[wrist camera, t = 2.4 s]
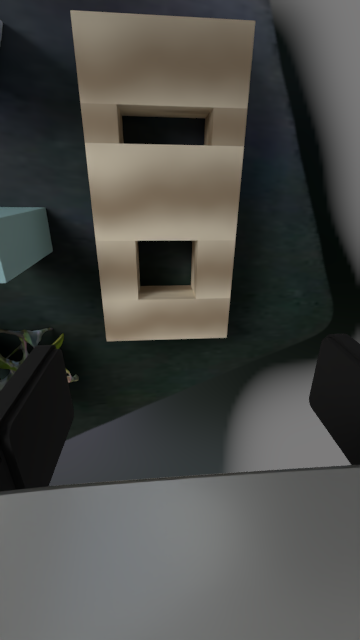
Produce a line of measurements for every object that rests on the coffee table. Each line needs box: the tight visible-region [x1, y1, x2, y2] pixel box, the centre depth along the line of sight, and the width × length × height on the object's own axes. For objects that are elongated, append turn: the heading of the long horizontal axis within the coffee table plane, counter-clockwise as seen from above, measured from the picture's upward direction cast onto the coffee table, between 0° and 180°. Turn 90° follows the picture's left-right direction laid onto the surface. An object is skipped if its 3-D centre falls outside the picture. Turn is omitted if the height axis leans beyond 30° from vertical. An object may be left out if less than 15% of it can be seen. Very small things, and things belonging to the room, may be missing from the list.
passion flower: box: [0, 328, 79, 391], centre depth 29 cm, size 11×11×12 cm
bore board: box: [70, 10, 255, 341], centre depth 26 cm, size 24×12×4 cm, turn 179°
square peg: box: [0, 207, 53, 283], centre depth 23 cm, size 4×4×10 cm
